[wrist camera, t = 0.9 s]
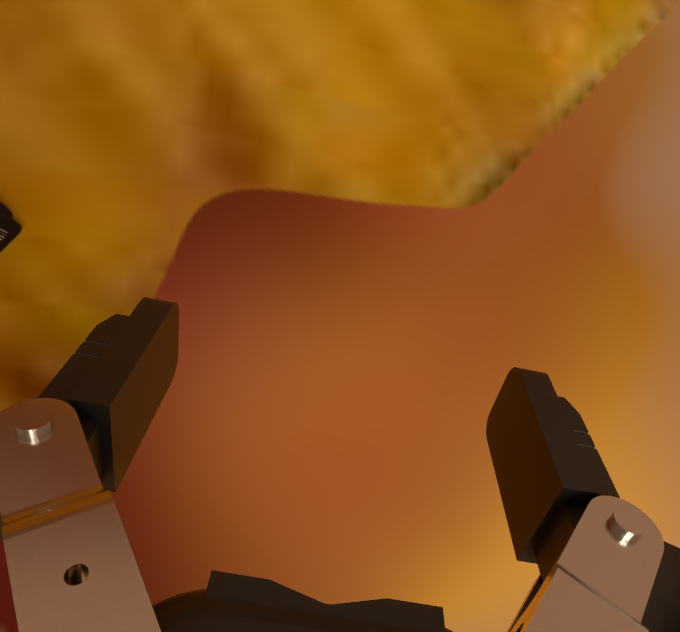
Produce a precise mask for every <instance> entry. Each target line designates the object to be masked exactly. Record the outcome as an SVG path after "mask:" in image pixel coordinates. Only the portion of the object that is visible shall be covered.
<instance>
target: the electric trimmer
mask: <svg viewBox="0 0 680 632" xmlns="http://www.w3.org/2000/svg"><path fill="white" fill-rule="evenodd" d="M20 230H21V227H20V225H19V224H18V223H17V222H15V221H14V220H13V219H12V213H11V211H10V210H8V209H7V208H6V207H5V206H4V205H3V204H2V203H1V202H0V252H1V251H2V250H3V249H4V248H5V247H6V246H7V245H8V244H9V243H10V242H11V241H12V240H13V239H14V238H15V237H16V236H17V235H18V234H19V233H20Z"/></svg>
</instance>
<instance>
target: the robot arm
mask: <svg viewBox="0 0 680 632" xmlns="http://www.w3.org/2000/svg"><path fill="white" fill-rule="evenodd" d="M178 330H179V307H178V304H177V303H173V302H167V301H162V300H157V299H152V298H146V297H145V298H143V299H142V300H141V301H140V302H139V304H138V305H137V306H136V308H135V309H134V311H133V312H132V313H131V315H130V316H125V315H120V314H116V315H114V316H112V317H110V318H108V319H107V320H105V321H103V322H101V323H100V324H98V325H97V326H96V327H95V328H94V329H93V331H92V332H91V333H90V334H89V336H88V337H87V338H86V339H85V342H83V343H82V344H81V345H80V347H79V348H78V349H77V350H76V353H75V354H73V355H72V357H71V358H70V359H69V360H68V361H67V363H66V364H65V365H64V366H63V368H62V369H61V370H60V371H59V373H58V374H57V375H56V376H55V377H54V379H53V380H52V381H51V382H50V384H49V385H48V386H47V387H46V389H45V390H44V391H43V392H42V393H41V395H40V396H39V397H38V398H34V399H29V400H25V401H21V402H18V403H16V404H13V405H11V406H9V407H7V408H6V409H4V410H3V411H1V412H0V540H1V539H3V542H4V548H5V554H6V560H7V565H8V571H9V577H10V583H11V589H12V594H13V600H14V606H15V612H16V617H17V623H18V629H19V632H452V631H451V630H448V629H447V628H445V625H444V615H443V608H442V607H437V606H430V605H425V604H418V603H412V602H406V601H400V600H393V599H378V600H369V601H360V602H351V603H342V604H324V603H321V602H319V601H317V600H315V599H312V598H310V597H308V596H305V595H303V594H301V593H299V592H296V591H294V590H291V589H290V588H287V587H285V586H283V585H280V584H278V583H276V582H274V581H271V580H268V579H262V578H256V577H250V576H244V575H237V574H231V573H225V572H219V571H212V572H211V575H210V579H209V582H208V586H207V589H201V590H194V591H190V592H185V593H181V594H178V595H176V596H173V597H170V598H167V599H165V600H163V601H161V602H159V603H156V604H155V605H151V602H150V599H149V596H148V594H147V591H146V588H145V585H144V582H143V580H142V577H141V574H140V571H139V568H138V566H137V563H136V560H135V557H134V555H133V552H132V549H131V547H130V543H129V541H128V538H127V535H126V532H125V530H124V527H123V524H122V522H121V519H120V516H119V513H118V510H117V507H116V505H115V502H114V499H113V497H112V494H111V492H110V491H113V492H116V490H117V488H118V486H119V484H120V482H121V480H122V478H123V476H124V474H125V472H126V470H127V468H128V466H129V464H130V462H131V460H132V458H133V456H134V454H135V453H136V450H137V449H138V447H139V445H140V443H141V441H142V439H143V437H144V435H145V433H146V431H147V429H148V427H149V425H150V423H151V421H152V419H153V417H154V415H155V413H156V411H157V409H158V407H159V405H160V403H161V401H162V399H163V397H164V396H165V393H166V391H167V389H168V388H169V386H170V384H171V382H172V379H173V377H174V373H175V370H176V366H177V359H178ZM486 435H487V441H488V445H489V449H490V453H491V457H492V461H493V466H494V469H495V474H496V478H497V481H498V486H499V490H500V494H501V498H502V502H503V506H504V509H505V513H506V518H507V521H508V526H509V530H510V534H511V538H512V542H513V546H514V550H515V554H516V558H517V560H518V561H524V562H530V563H536V564H538V567H539V570H540V575H539V576H538V578H537V579H536V581H535V582H534V584H533V585H532V587H531V589H530V591H529V593H528V594H527V596H526V598H525V600H524V602H523V603H522V605H521V607H520V609H519V610H518V612H517V614H516V616H515V618H514V620H513V621H512V623H511V625H510V626H509V628H508V630H507V632H680V548H678V547H675V546H673V545H671V544H668V543H666V542H664V541H663V538H662V535H661V533H660V531H659V530H658V528H657V526H656V525H655V524H654V523H653V521H652V520H651V519H650V518H649V517H648V516H647V515H646V514H645V513H643V512H642V511H641V510H640V509H638V508H637V507H636V506H634V505H632V504H631V503H629V502H627V501H625V500H623V499H620V497H619V495H618V493H617V491H616V489H615V487H614V485H613V482H612V480H611V478H610V476H609V474H608V472H607V470H606V468H605V466H604V464H603V462H602V459H601V457H600V455H599V453H598V451H597V449H595V445H594V443H593V441H592V438H591V436H590V435H588V430H587V428H586V426H585V424H584V422H583V420H582V418H581V415H580V414H579V413H578V412H577V411H576V410H575V409H574V408H573V406H572V405H571V404H570V403H569V402H568V401H567V400H566V399H565V398H563V397H558V396H557V394H556V392H555V390H554V388H553V386H552V383H551V381H550V379H549V377H548V375H547V374H546V373H543V372H537V371H532V370H527V369H521V368H516V367H514V368H512V369H511V370H510V371H509V373H508V375H507V377H506V379H505V381H504V384H503V386H502V388H501V390H500V392H499V394H498V397H497V399H496V401H495V403H494V405H493V407H492V409H491V412H490V414H489V417H488V421H487V429H486Z"/></svg>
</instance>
